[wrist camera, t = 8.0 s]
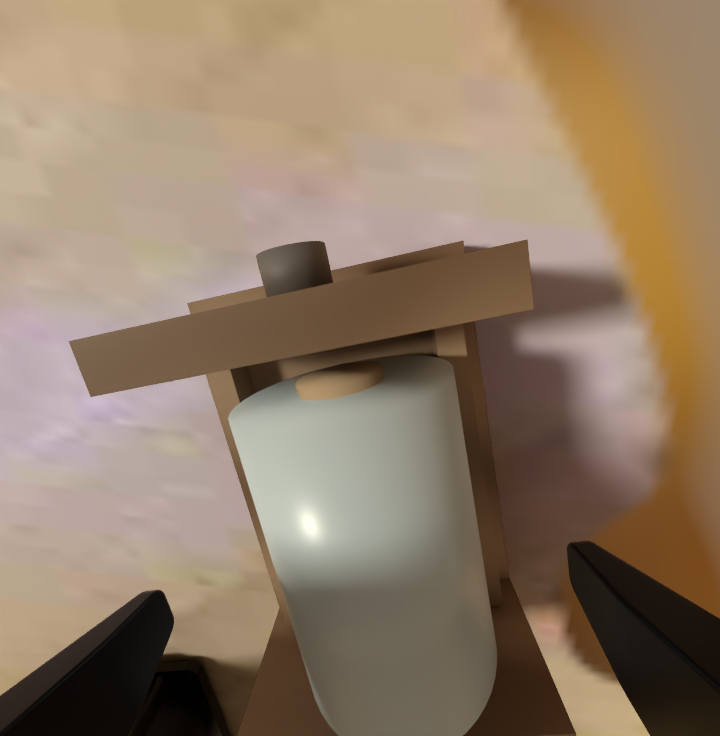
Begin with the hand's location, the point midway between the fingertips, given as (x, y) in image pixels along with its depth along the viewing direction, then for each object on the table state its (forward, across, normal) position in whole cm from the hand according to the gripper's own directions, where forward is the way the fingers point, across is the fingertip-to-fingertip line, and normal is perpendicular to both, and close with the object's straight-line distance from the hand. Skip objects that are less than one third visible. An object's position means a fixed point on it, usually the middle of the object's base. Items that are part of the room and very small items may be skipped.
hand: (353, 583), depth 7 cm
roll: (+5, 0, 0) cm, 5 cm away
